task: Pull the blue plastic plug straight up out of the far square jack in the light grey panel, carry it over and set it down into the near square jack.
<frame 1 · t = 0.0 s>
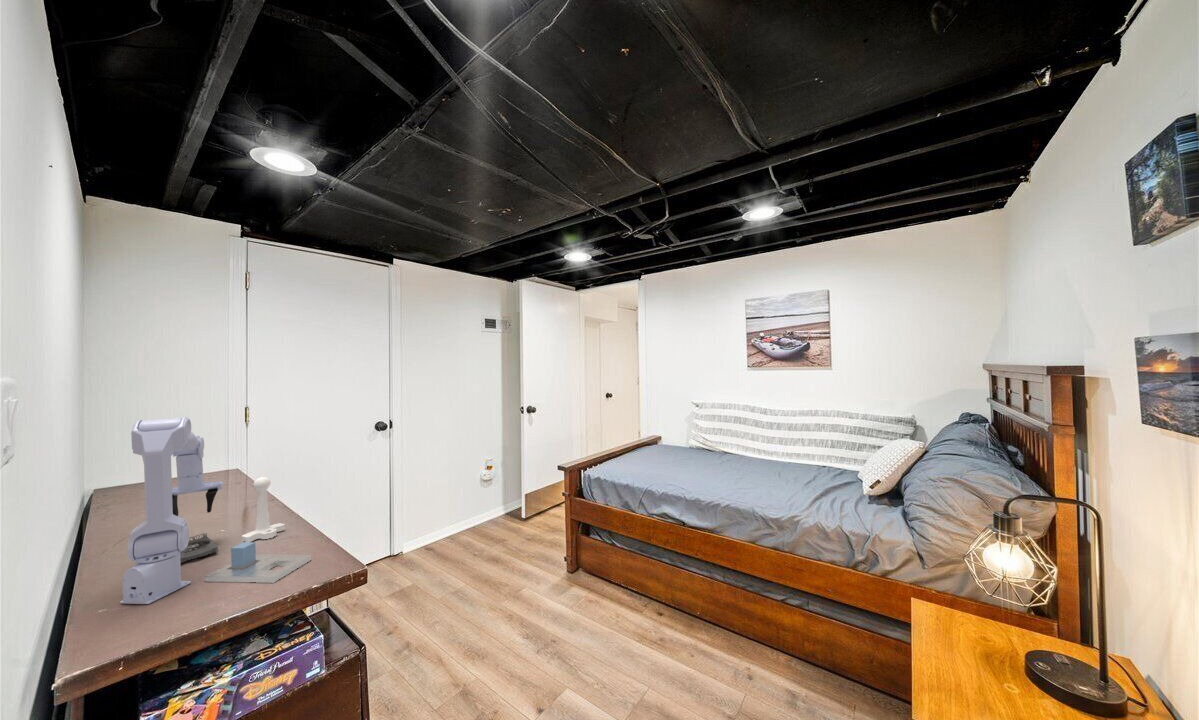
hand: (192, 514, 128), 11 cm above the cabinet, tool pointing down, fingers open, 7 cm apart
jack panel: (260, 570, 111), on the cabinet
graphics card: (188, 557, 122), on the cabinet
joystick: (265, 537, 134), on the cabinet
plug: (243, 570, 111), resting in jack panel
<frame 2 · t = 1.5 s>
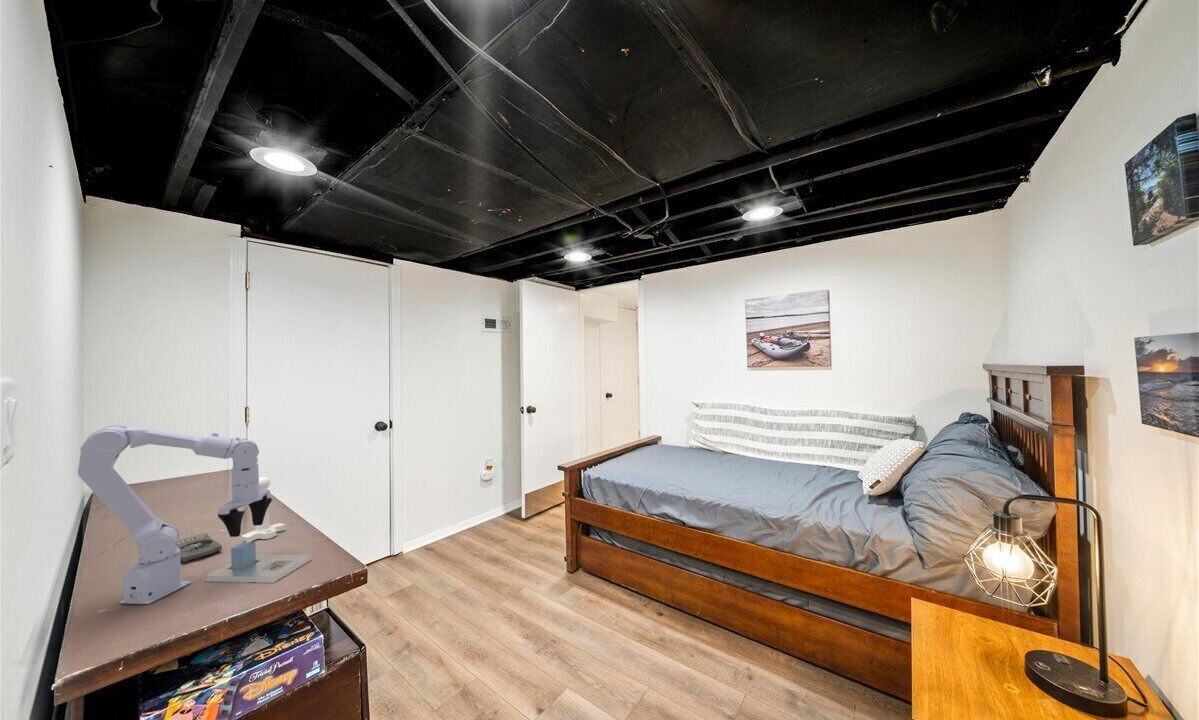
hand: (246, 530, 113), 10 cm above the cabinet, tool pointing down, fingers open, 7 cm apart
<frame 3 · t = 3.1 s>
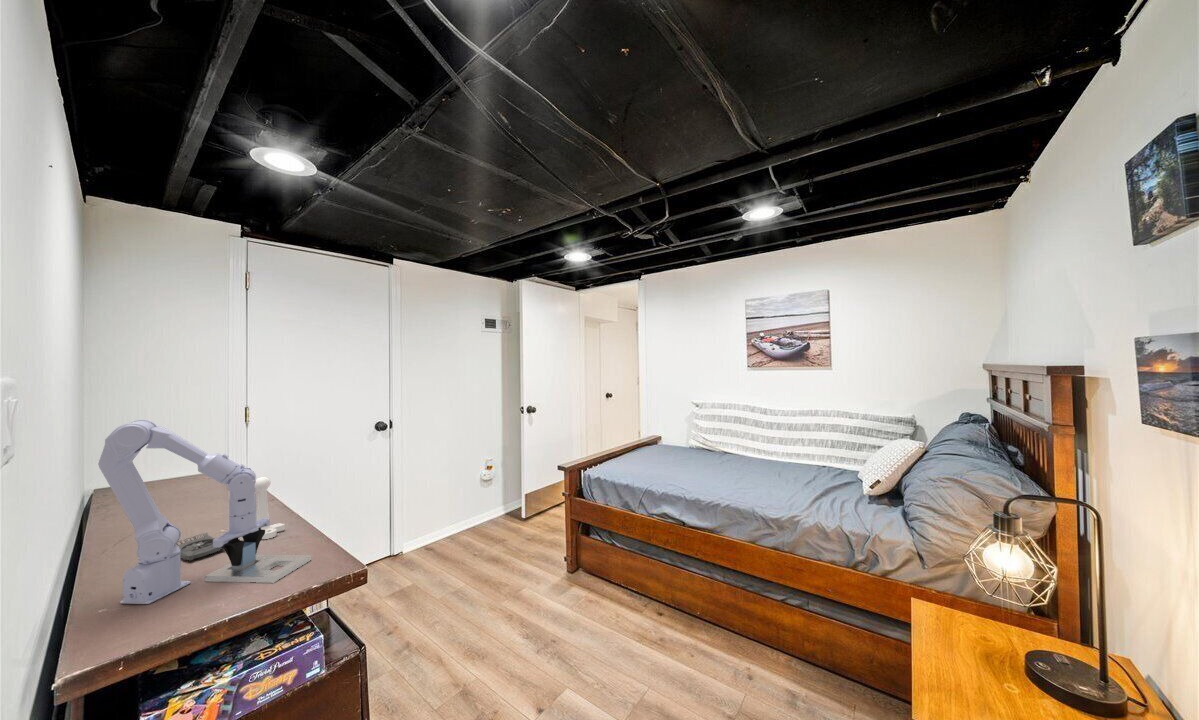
hand: (243, 561, 111), 2 cm above the cabinet, tool pointing down, fingers closed on plug, 4 cm apart
plug: (243, 570, 111), resting in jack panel, touching gripper
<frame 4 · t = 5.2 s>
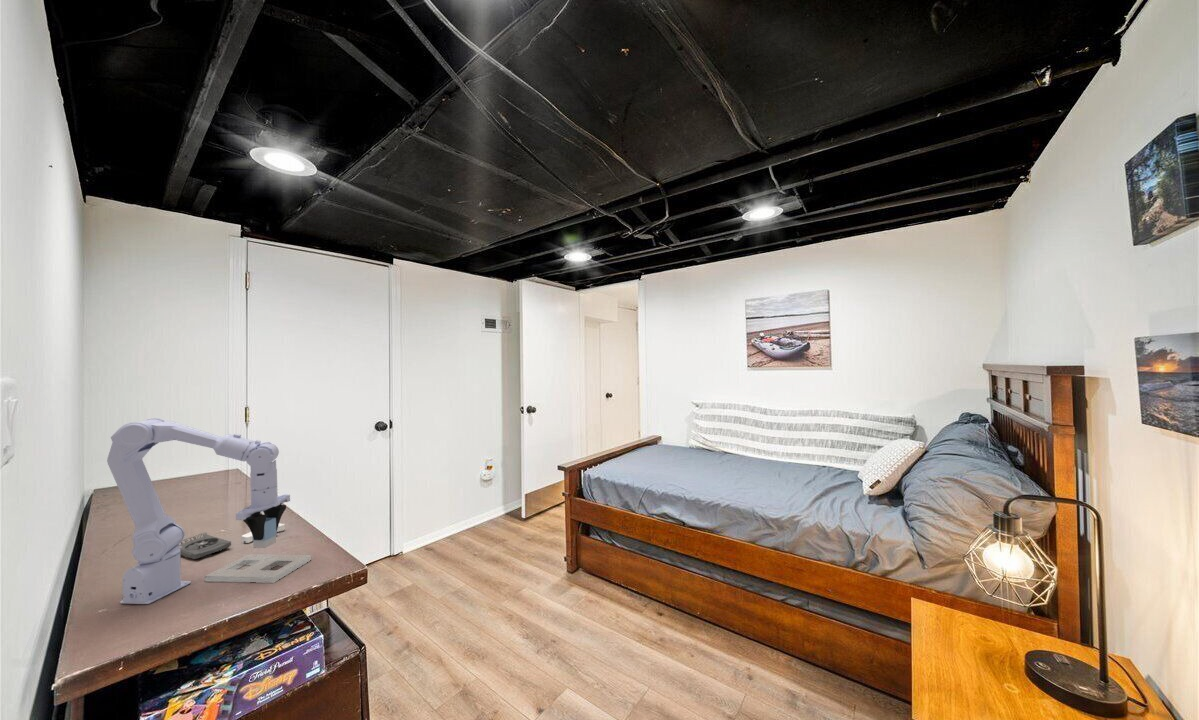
hand: (265, 536, 111), 10 cm above the cabinet, tool pointing down, fingers closed on plug, 4 cm apart
plug: (264, 545, 111), point 7 cm above the cabinet, touching gripper
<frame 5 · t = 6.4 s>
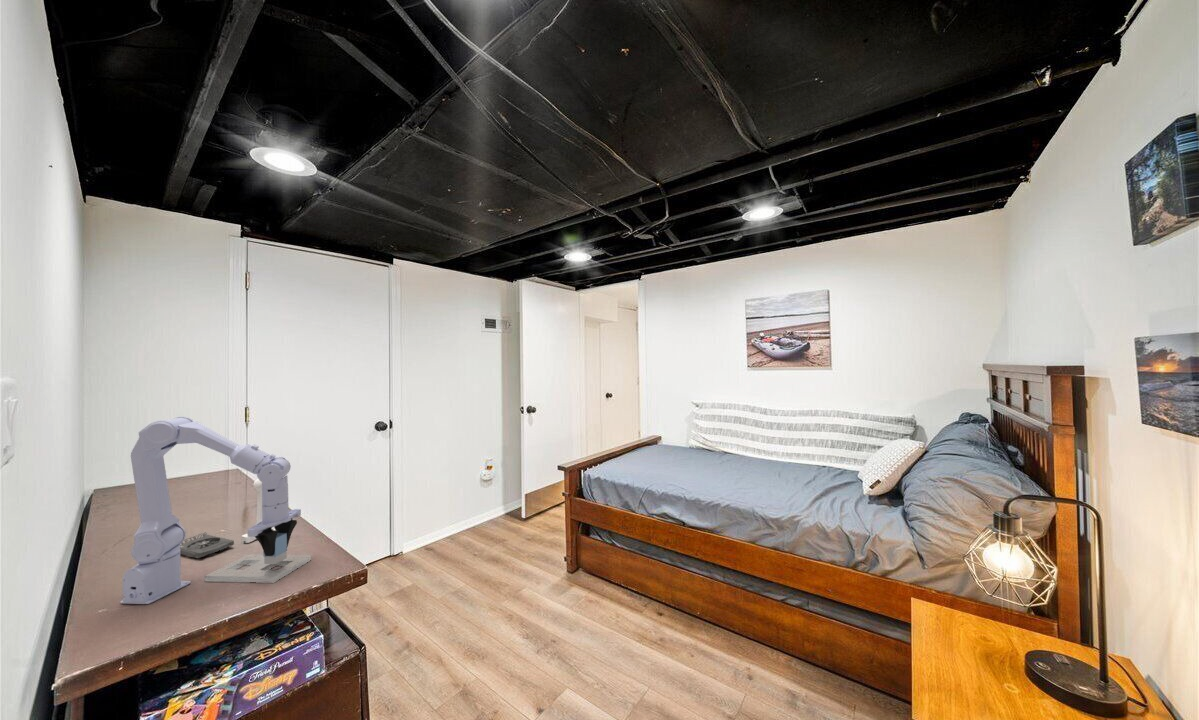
hand: (276, 551, 111), 5 cm above the cabinet, tool pointing down, fingers closed on plug, 4 cm apart
plug: (275, 560, 111), point 3 cm above the cabinet, touching gripper
when the fingers open (3 cm above the cabinet, at t = 7.2 s): plug stays where it is, resting in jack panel.
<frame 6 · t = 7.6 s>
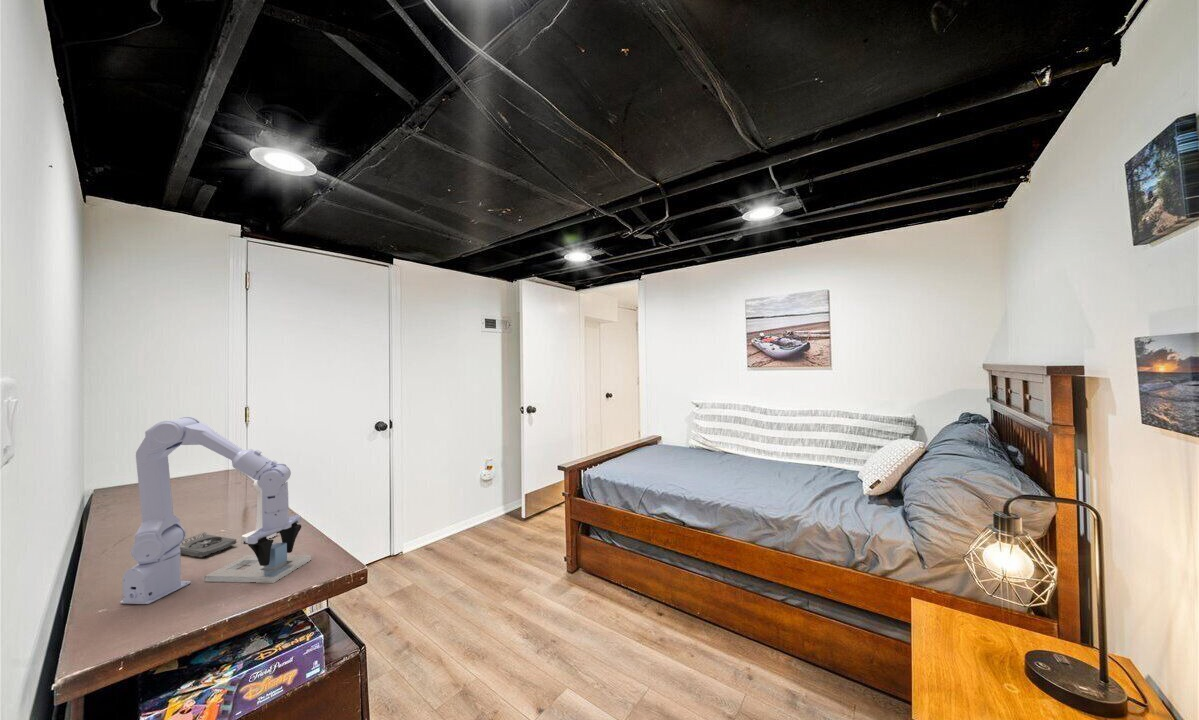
hand: (276, 558, 111), 3 cm above the cabinet, tool pointing down, fingers open, 7 cm apart
plug: (275, 570, 111), resting in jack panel
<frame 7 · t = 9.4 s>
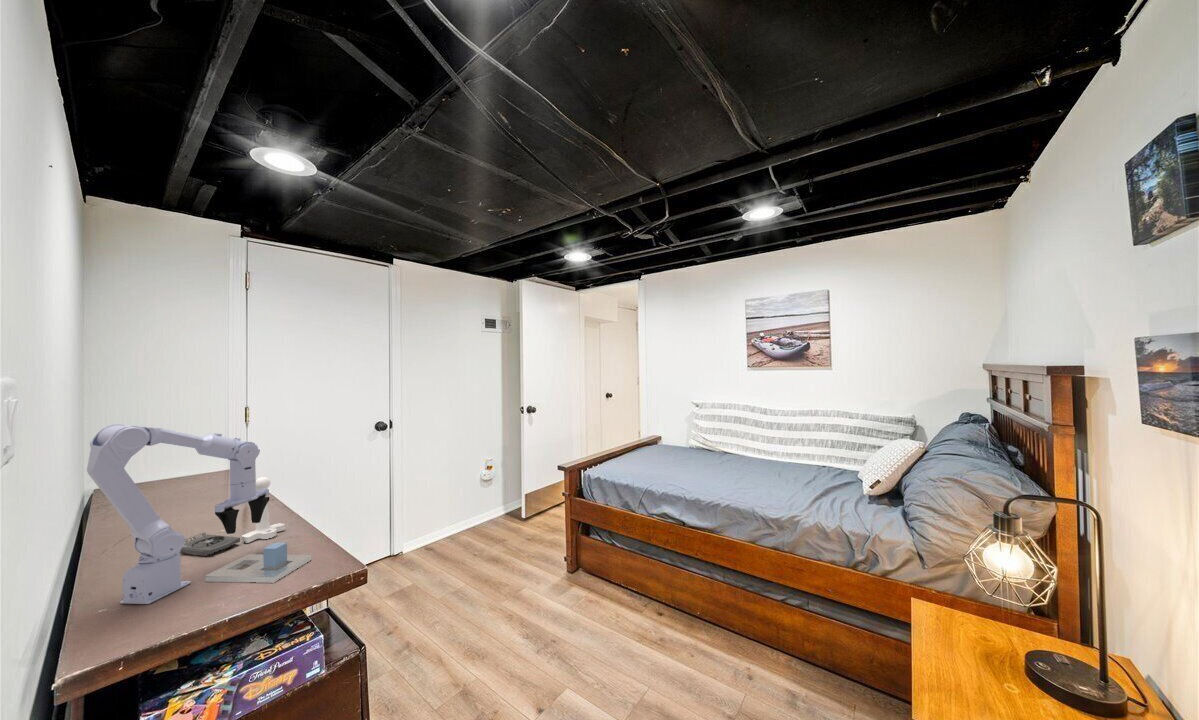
hand: (243, 527, 118), 9 cm above the cabinet, tool pointing down, fingers open, 7 cm apart
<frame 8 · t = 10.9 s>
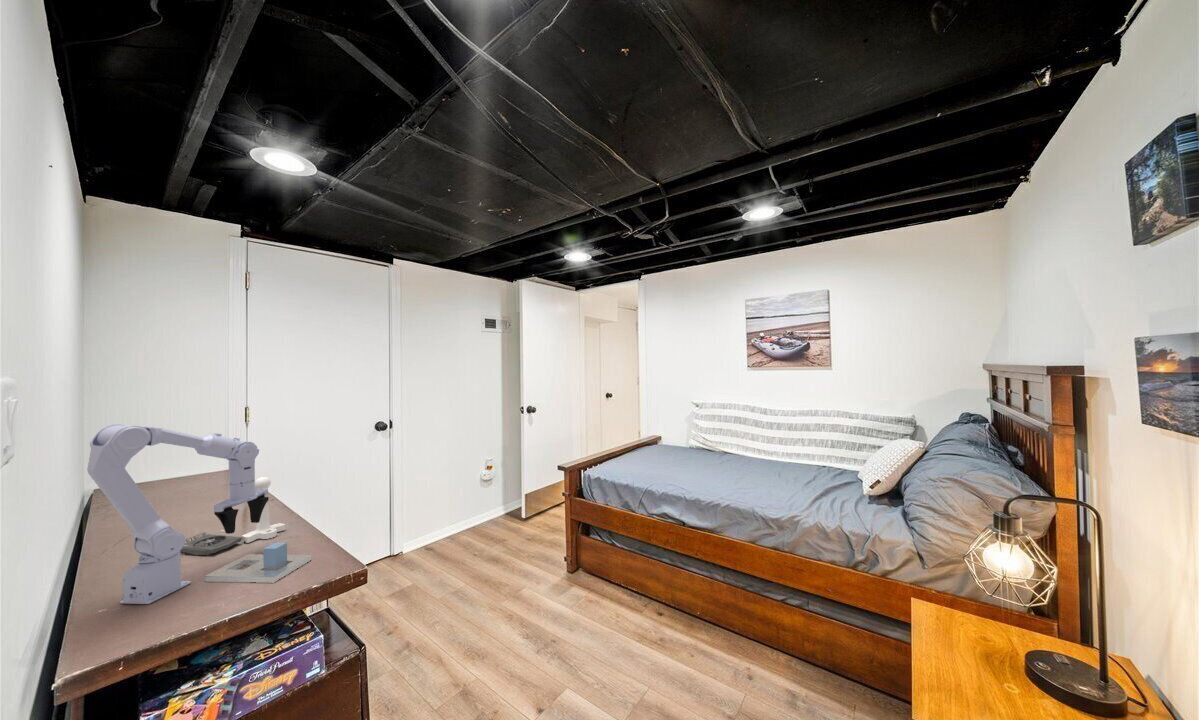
hand: (243, 527, 118), 9 cm above the cabinet, tool pointing down, fingers open, 7 cm apart
at the end: plug 0.3 cm from the target spot on the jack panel, point 0.0 cm above the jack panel's base; plug tilted 0°; the gripper is holding nothing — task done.
